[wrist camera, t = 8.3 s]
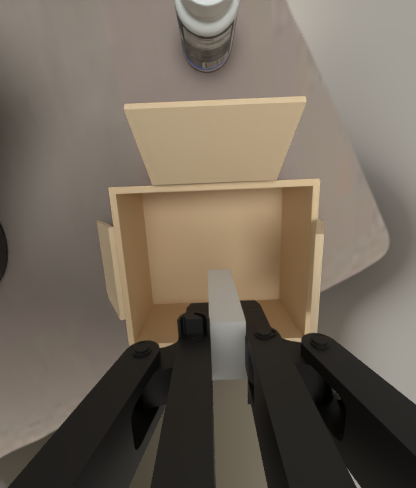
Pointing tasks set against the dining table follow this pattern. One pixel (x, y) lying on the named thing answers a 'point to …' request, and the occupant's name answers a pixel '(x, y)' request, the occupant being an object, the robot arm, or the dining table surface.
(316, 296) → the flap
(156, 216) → the carton
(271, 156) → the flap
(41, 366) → the dining table surface
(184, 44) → the pill bottle
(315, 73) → the dining table surface
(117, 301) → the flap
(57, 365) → the dining table surface
